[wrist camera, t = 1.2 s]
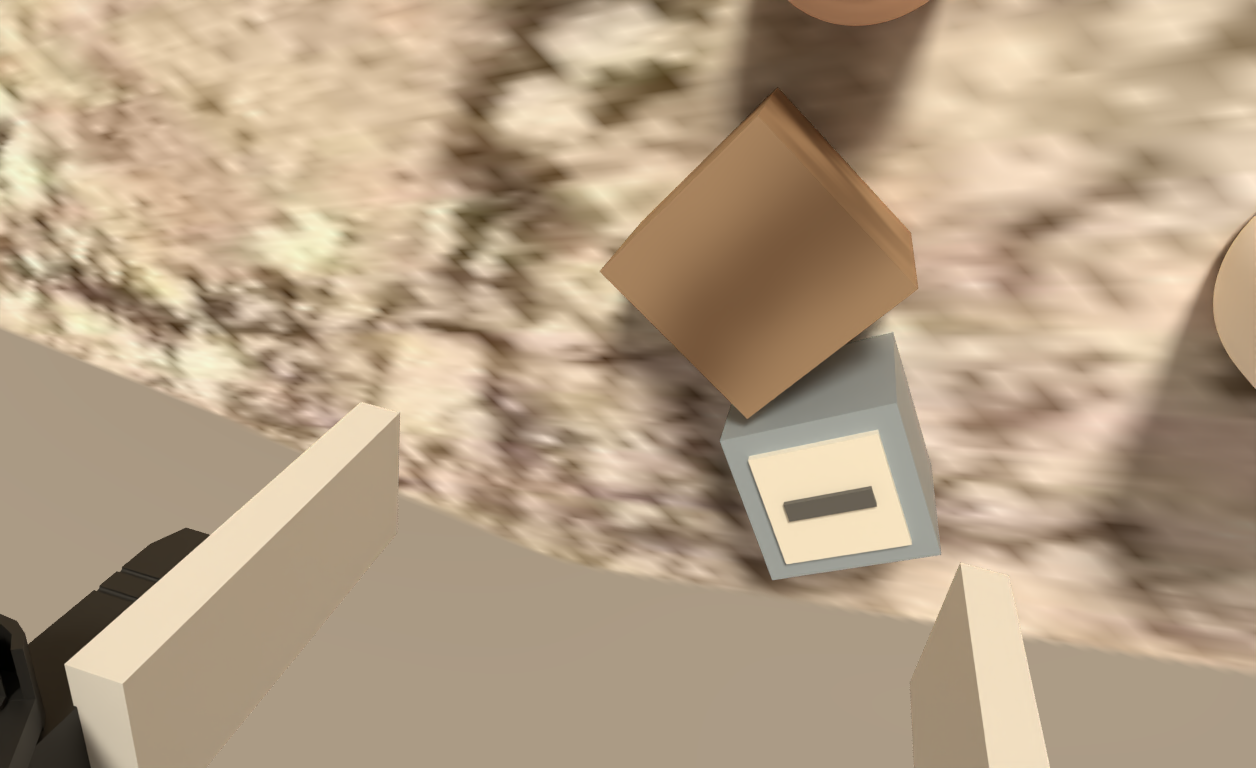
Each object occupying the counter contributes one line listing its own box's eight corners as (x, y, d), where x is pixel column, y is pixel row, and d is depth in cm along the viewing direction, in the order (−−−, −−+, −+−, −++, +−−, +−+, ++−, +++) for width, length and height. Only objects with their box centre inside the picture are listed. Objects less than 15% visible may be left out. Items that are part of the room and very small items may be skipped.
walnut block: (642, 220, 33) (599, 271, 28) (777, 86, 30) (758, 115, 25) (766, 348, 34) (747, 419, 29) (910, 231, 31) (918, 288, 26)
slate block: (742, 368, 35) (717, 448, 29) (893, 331, 33) (897, 410, 27) (786, 491, 37) (770, 588, 31) (931, 464, 35) (942, 563, 29)
